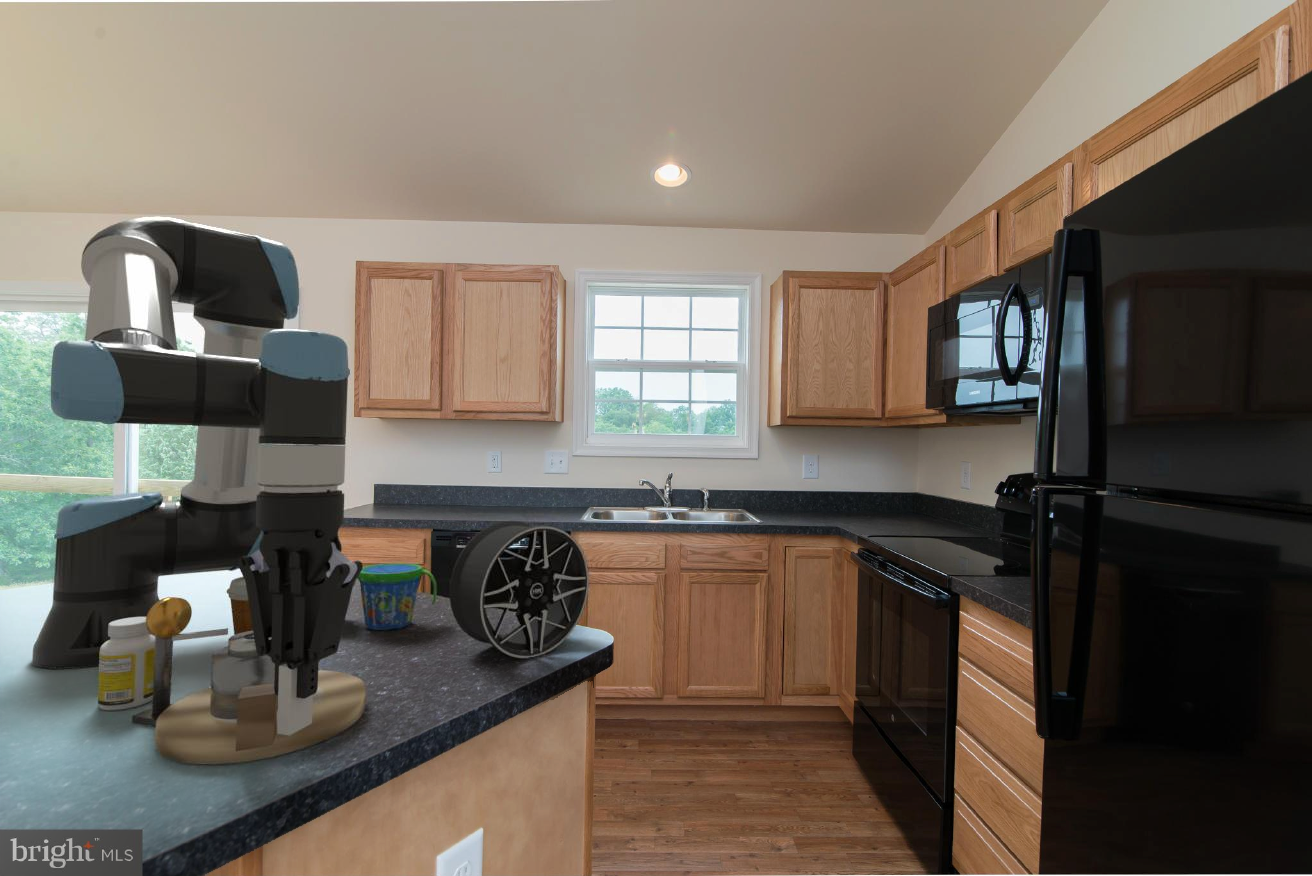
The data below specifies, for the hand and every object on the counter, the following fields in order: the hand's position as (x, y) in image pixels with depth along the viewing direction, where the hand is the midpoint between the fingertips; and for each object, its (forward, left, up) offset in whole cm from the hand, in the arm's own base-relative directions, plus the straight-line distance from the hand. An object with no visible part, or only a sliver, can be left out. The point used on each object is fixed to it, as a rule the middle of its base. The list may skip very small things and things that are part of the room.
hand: (294, 728), depth 60 cm
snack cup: (-23, +43, -4) cm, 49 cm away
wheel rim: (+4, +39, -4) cm, 40 cm away
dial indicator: (-21, +5, -4) cm, 22 cm away
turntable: (-10, +6, -3) cm, 12 cm away
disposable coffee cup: (-28, +22, -4) cm, 36 cm away
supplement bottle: (-31, +6, -4) cm, 31 cm away
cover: (-12, +6, -1) cm, 13 cm away
